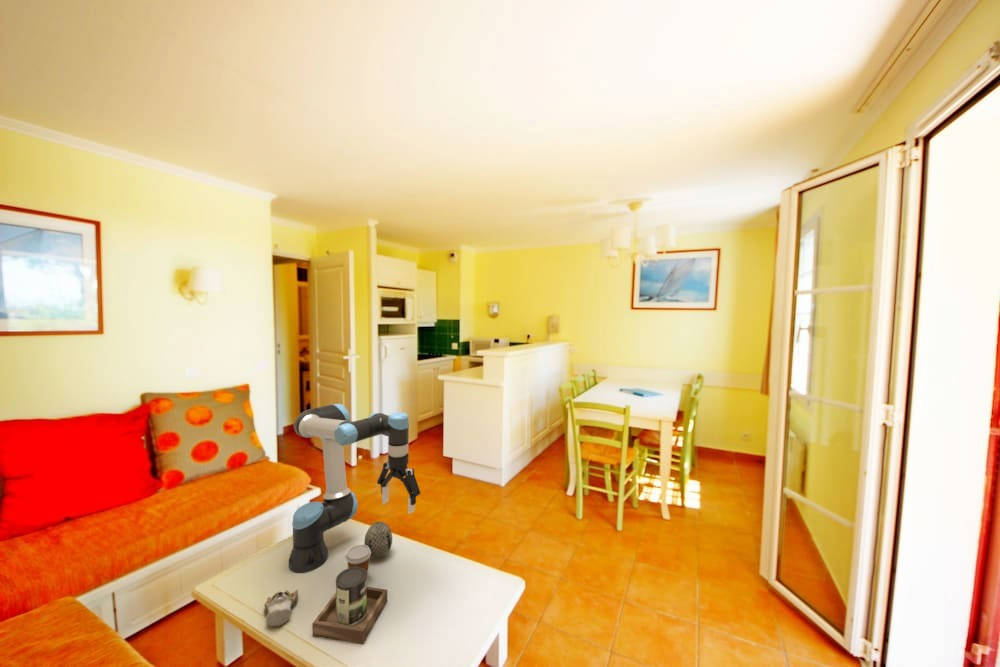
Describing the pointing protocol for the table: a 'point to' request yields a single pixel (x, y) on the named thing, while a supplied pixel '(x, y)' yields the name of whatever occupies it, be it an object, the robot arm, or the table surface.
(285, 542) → the table surface
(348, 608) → the coffee can
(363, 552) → the disposable coffee cup
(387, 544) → the decorative egg
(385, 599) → the box
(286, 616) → the ceramic sculpture
